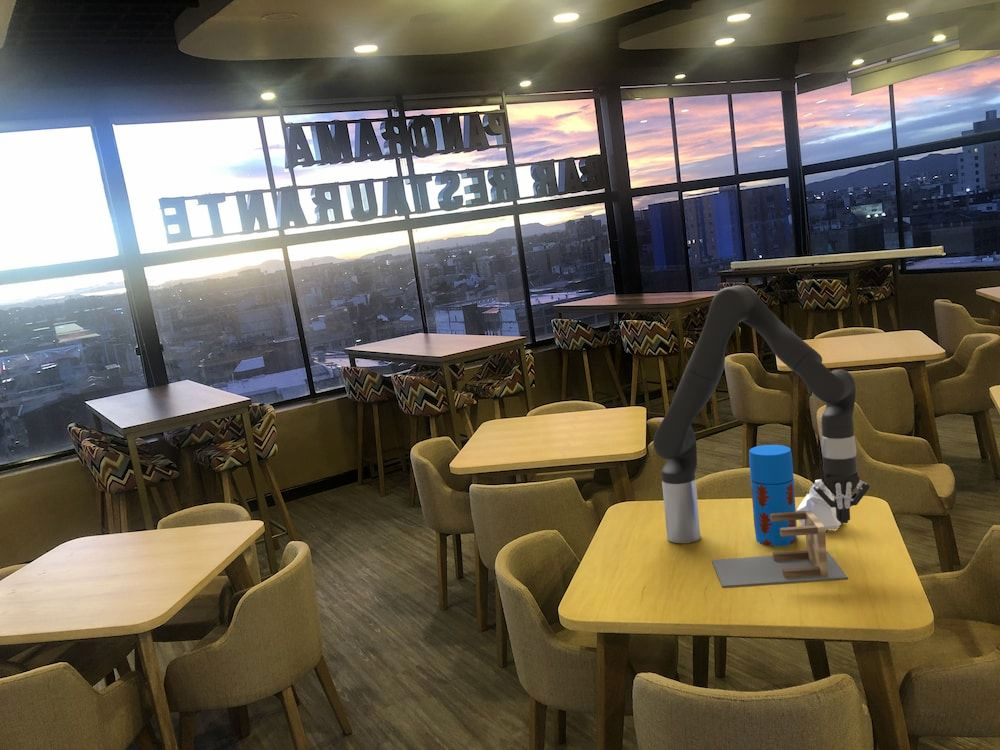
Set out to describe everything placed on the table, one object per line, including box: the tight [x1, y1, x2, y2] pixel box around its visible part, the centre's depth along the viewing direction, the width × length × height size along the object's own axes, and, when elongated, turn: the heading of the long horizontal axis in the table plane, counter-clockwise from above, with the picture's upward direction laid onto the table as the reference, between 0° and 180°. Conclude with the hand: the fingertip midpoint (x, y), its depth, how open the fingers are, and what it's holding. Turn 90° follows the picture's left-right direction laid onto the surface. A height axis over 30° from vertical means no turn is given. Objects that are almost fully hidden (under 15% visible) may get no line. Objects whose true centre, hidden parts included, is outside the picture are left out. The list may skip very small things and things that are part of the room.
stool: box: [770, 510, 828, 578], centre depth 198 cm, size 12×10×12 cm
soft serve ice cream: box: [796, 478, 842, 530], centre depth 224 cm, size 12×15×14 cm
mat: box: [711, 550, 849, 588], centre depth 199 cm, size 16×29×1 cm, turn 84°
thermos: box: [748, 444, 798, 547], centre depth 217 cm, size 11×11×25 cm
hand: (843, 522), depth 196 cm, fingers closed
